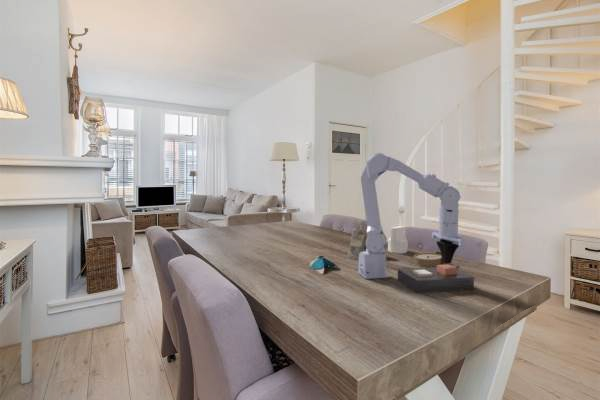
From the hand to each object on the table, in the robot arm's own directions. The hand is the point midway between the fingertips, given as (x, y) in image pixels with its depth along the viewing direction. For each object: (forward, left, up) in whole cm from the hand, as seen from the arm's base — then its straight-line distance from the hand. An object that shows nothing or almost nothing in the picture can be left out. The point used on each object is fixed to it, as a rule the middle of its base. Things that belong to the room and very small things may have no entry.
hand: (447, 262), depth 101 cm
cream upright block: (+7, +46, -8) cm, 47 cm away
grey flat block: (-5, 0, -7) cm, 8 cm away
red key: (0, 0, -4) cm, 4 cm away
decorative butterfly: (-37, +25, -8) cm, 45 cm away
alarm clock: (+11, +23, -8) cm, 27 cm away
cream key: (-9, 0, -6) cm, 11 cm away
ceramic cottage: (-12, +39, -8) cm, 42 cm away
